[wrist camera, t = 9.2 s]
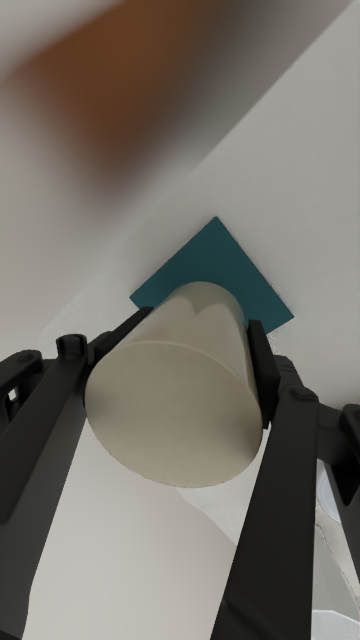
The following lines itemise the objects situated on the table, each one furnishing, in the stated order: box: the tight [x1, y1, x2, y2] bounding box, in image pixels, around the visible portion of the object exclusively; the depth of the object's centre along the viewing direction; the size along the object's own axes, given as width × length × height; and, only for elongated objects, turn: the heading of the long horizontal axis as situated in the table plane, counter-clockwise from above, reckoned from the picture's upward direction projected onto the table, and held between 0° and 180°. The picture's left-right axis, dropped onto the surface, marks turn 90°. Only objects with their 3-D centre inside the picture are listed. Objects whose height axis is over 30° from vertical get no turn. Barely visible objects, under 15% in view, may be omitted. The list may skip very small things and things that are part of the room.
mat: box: [129, 217, 294, 334], centre depth 22 cm, size 11×11×1 cm
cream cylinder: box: [84, 282, 263, 488], centre depth 13 cm, size 7×7×10 cm
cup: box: [311, 525, 360, 640], centre depth 26 cm, size 7×10×8 cm
